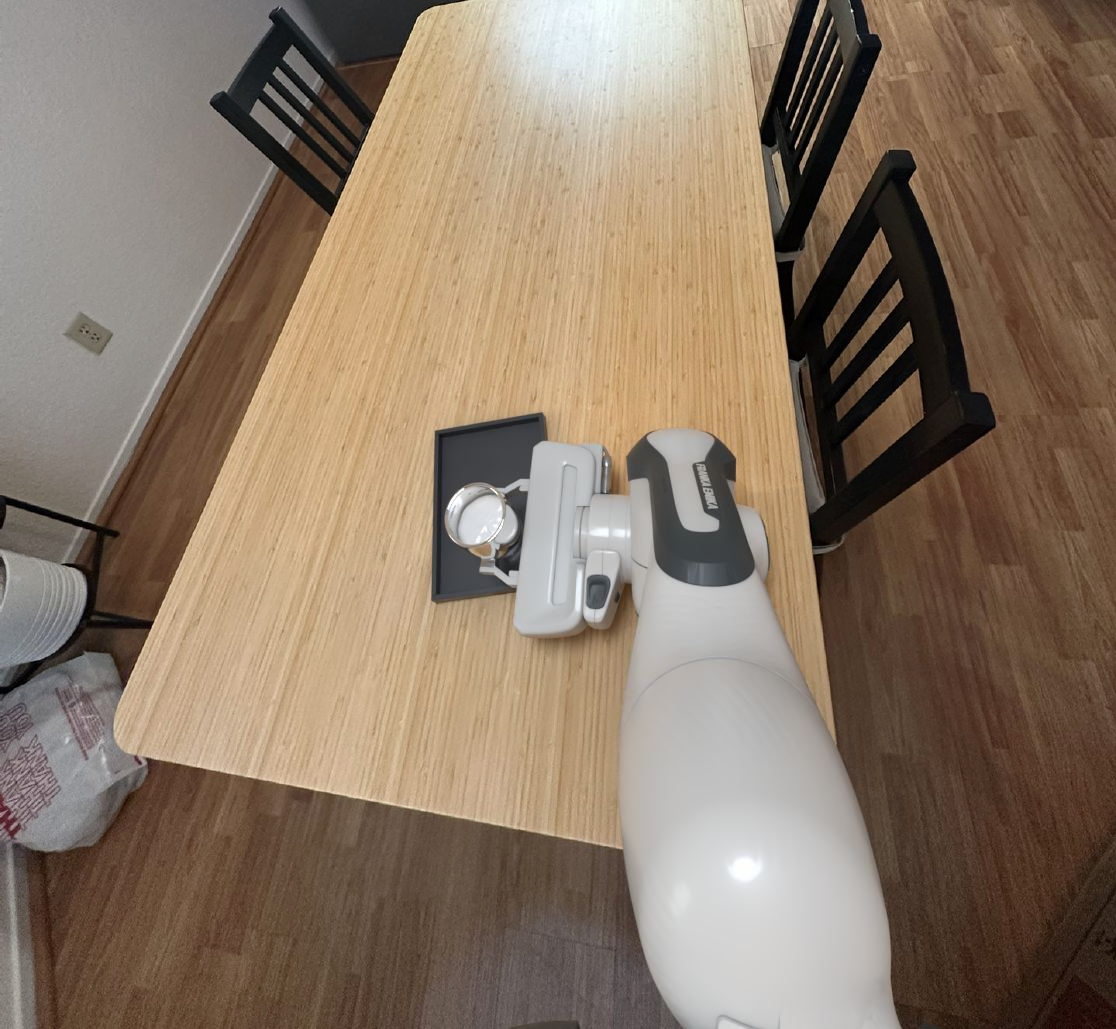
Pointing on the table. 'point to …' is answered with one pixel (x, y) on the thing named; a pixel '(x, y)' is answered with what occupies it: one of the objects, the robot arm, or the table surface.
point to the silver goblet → (486, 525)
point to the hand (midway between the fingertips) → (486, 530)
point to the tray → (477, 458)
